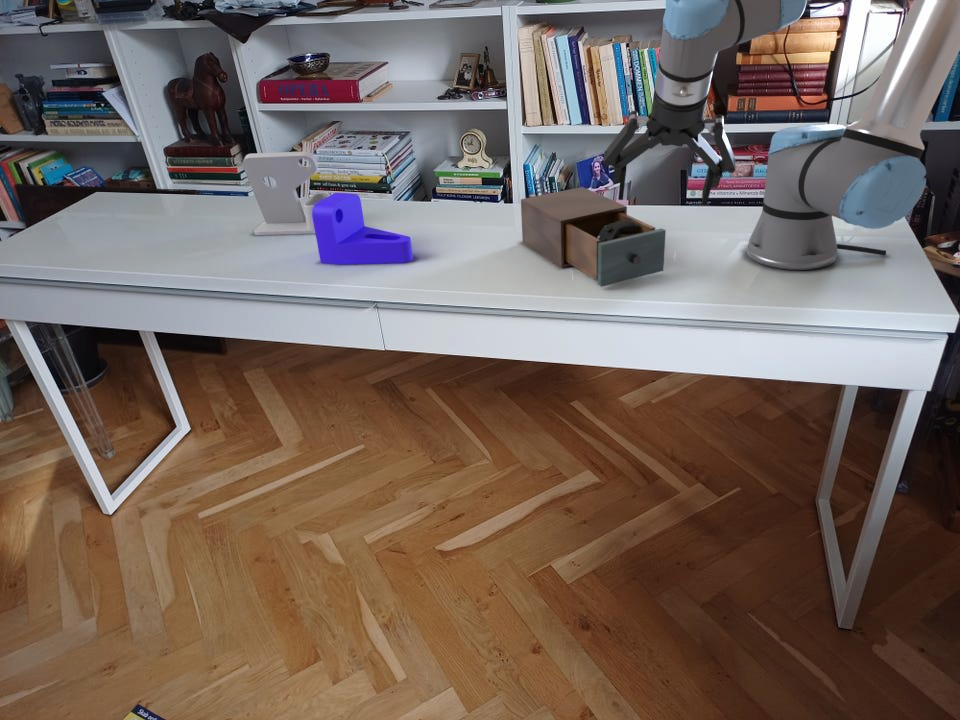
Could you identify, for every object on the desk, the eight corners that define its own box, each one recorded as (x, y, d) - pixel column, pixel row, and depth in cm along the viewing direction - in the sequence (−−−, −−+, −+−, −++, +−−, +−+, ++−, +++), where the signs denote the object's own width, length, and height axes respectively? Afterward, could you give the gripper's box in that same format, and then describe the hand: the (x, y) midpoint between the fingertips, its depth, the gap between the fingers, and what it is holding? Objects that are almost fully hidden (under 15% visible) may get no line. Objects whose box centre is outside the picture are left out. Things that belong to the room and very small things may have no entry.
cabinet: (625, 252, 143) (627, 206, 138) (561, 268, 138) (560, 220, 134) (582, 229, 156) (582, 186, 152) (522, 243, 151) (520, 199, 147)
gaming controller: (615, 265, 129) (586, 249, 130) (610, 278, 135) (581, 262, 135) (641, 223, 132) (612, 207, 133) (635, 237, 137) (607, 221, 138)
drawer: (667, 273, 131) (670, 232, 127) (604, 289, 127) (605, 247, 123) (616, 245, 144) (616, 207, 141) (557, 259, 140) (557, 220, 136)
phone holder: (338, 218, 174) (325, 141, 165) (326, 233, 165) (311, 152, 157) (268, 221, 176) (252, 144, 168) (252, 235, 168) (234, 155, 159)
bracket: (320, 262, 149) (310, 206, 144) (349, 244, 158) (340, 190, 152) (399, 270, 143) (391, 211, 137) (424, 250, 152) (417, 194, 146)
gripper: (590, 105, 105) (585, 208, 123) (773, 112, 101) (740, 218, 119) (595, 70, 109) (589, 175, 127) (771, 76, 105) (739, 184, 123)
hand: (662, 196), depth 123 cm, fingers open, 13 cm apart
